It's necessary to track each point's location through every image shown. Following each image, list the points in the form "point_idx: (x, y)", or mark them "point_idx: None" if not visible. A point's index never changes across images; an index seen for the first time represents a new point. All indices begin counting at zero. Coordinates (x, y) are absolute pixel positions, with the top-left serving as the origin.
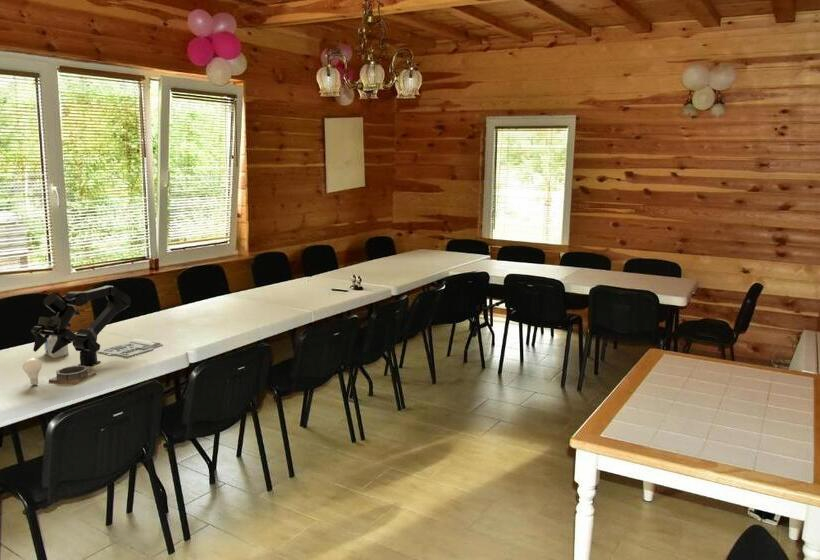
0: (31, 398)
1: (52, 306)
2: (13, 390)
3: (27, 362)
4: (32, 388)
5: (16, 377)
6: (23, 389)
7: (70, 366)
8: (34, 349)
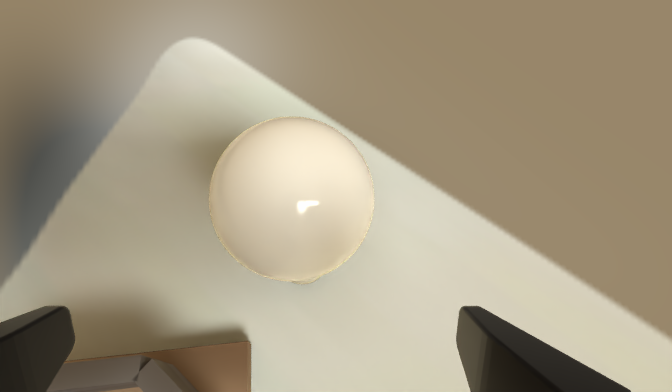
0: (153, 113)
1: None
2: None
3: (281, 118)
4: None
5: (588, 352)
6: None
7: None
8: (467, 314)
